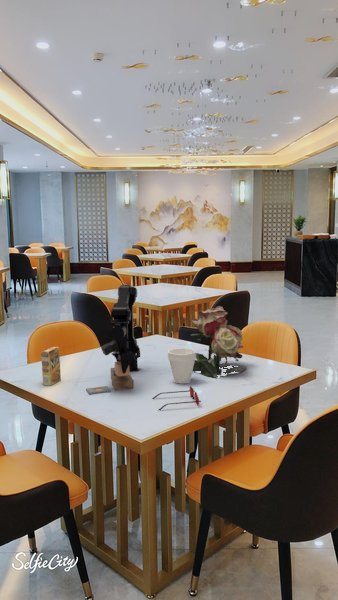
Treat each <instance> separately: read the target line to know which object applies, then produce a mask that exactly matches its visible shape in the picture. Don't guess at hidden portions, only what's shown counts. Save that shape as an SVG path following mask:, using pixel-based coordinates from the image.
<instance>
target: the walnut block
mask: <svg viewBox="0 0 338 600" xmlns="http://www.w3.org/2000/svg"><path fill="white" fill-rule="evenodd" d="M111 386H112V387H113V390H114V391H121V390H122V391H123V390H131V389H132V390H133V388H134V387H135V386H134V378H132V376H131V375H130V374H129V375H125V376H112V379H111Z"/></svg>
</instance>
